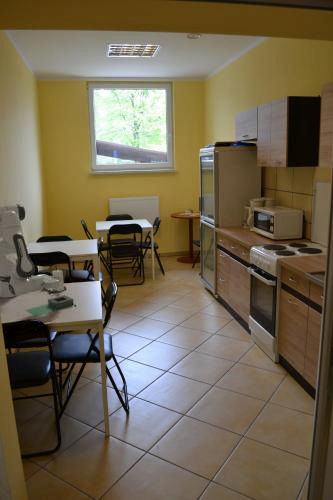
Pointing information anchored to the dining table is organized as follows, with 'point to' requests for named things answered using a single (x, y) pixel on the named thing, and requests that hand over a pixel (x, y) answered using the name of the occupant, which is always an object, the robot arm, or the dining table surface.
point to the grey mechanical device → (52, 289)
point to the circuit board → (44, 310)
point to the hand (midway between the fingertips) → (59, 278)
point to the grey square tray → (60, 302)
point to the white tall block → (57, 275)
